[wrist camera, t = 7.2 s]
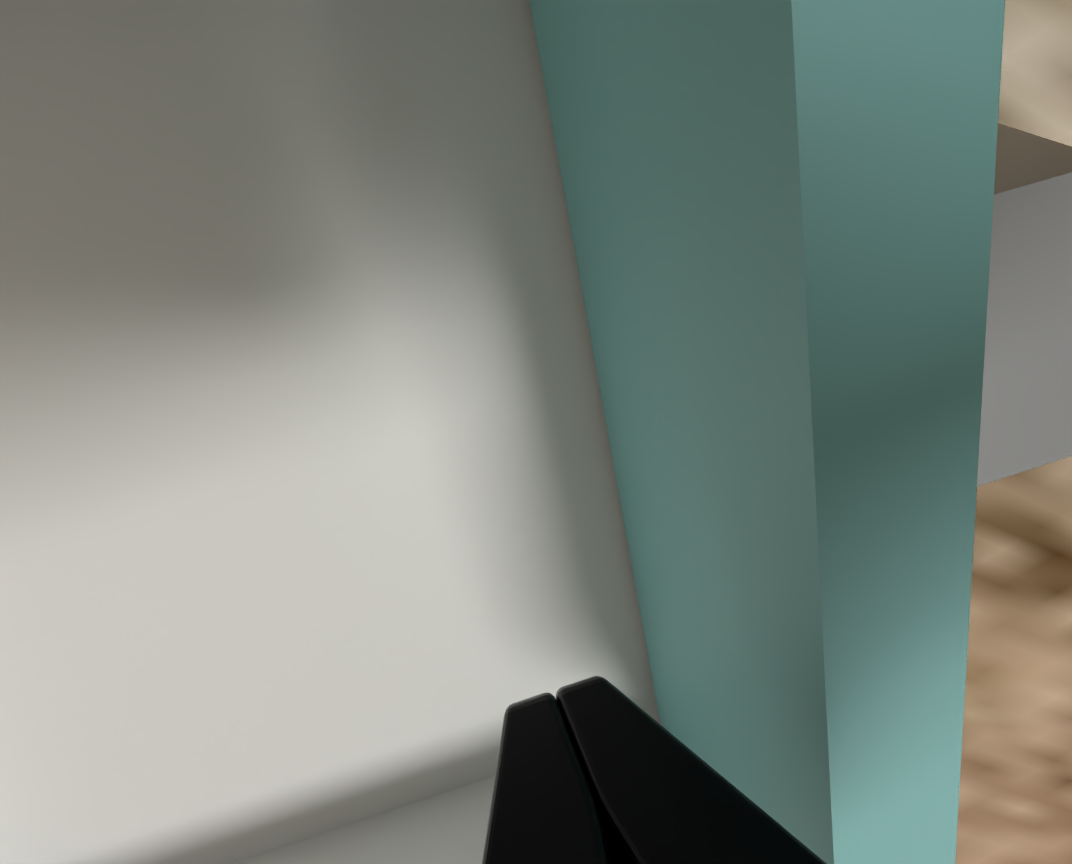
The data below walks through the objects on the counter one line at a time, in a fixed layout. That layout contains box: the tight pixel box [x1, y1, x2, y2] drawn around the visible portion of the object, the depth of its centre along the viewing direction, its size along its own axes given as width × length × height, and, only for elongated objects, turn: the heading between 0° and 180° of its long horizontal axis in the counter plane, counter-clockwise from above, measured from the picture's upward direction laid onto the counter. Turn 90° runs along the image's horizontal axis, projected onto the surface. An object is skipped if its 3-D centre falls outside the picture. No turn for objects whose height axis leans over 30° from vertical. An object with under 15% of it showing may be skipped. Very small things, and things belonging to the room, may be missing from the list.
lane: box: [0, 0, 1072, 864], centre depth 12 cm, size 17×15×3 cm
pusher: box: [529, 0, 1005, 864], centre depth 10 cm, size 1×12×6 cm, turn 11°
